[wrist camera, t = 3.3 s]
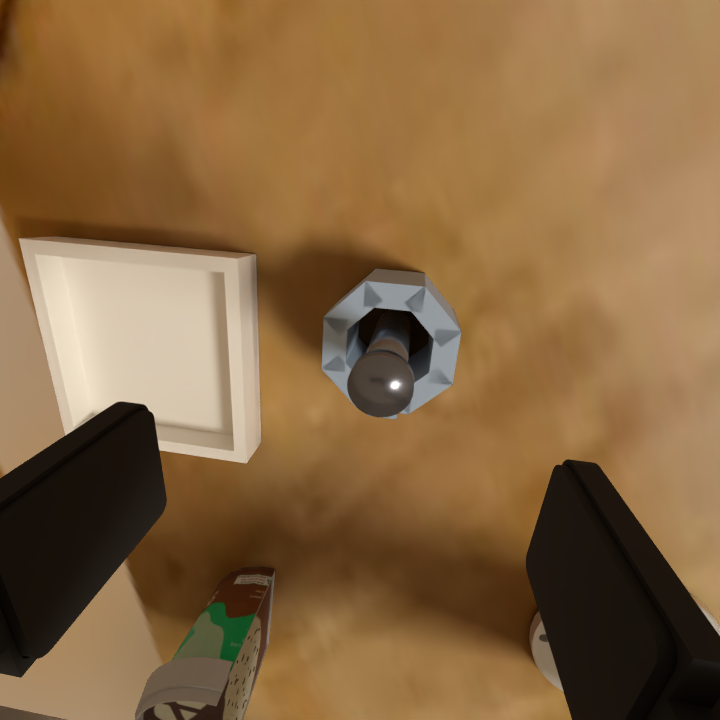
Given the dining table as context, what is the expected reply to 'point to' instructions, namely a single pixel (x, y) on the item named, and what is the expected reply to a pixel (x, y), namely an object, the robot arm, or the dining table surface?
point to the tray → (152, 338)
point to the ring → (394, 293)
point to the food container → (216, 655)
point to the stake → (384, 369)
